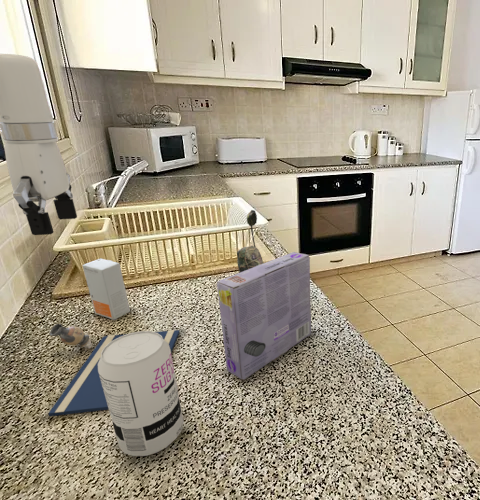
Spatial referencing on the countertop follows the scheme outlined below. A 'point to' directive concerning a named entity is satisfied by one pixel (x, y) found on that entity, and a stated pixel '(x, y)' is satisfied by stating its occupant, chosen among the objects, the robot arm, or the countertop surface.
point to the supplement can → (141, 392)
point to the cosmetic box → (106, 288)
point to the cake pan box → (264, 312)
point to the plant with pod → (249, 249)
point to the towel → (93, 382)
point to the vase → (71, 336)
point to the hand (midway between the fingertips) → (56, 225)
